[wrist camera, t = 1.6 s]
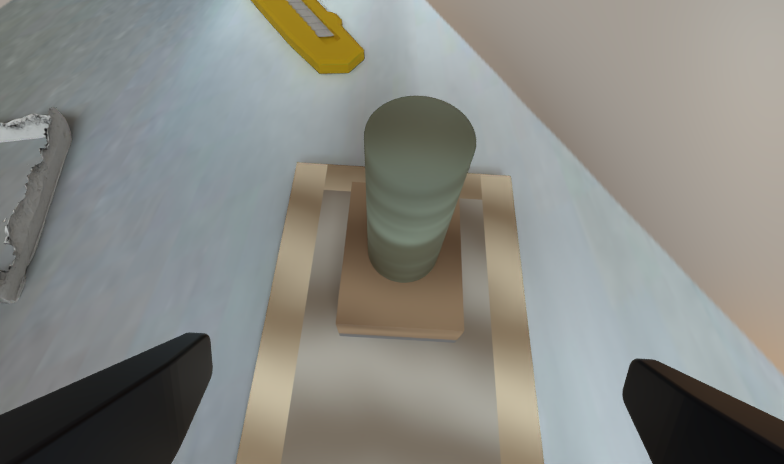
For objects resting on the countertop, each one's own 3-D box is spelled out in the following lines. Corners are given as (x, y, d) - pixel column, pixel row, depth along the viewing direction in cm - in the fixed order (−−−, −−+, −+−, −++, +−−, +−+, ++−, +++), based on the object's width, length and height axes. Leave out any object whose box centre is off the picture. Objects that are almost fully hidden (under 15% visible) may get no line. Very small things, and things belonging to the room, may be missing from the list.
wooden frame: (553, 622, 16) (563, 633, 15) (214, 606, 16) (204, 616, 15) (506, 184, 26) (510, 175, 26) (299, 171, 26) (297, 162, 25)
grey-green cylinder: (454, 342, 20) (527, 255, 11) (339, 335, 20) (308, 241, 11) (451, 211, 24) (502, 58, 14) (354, 205, 24) (340, 47, 14)
